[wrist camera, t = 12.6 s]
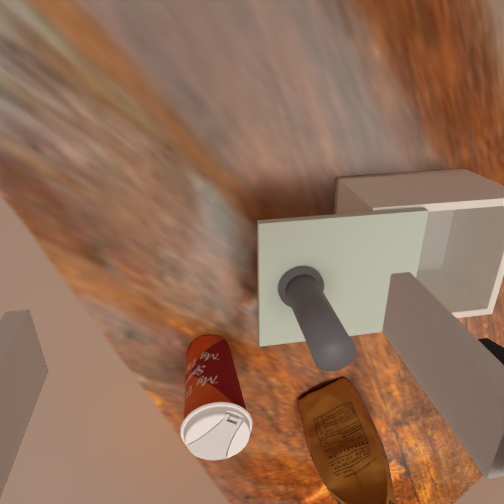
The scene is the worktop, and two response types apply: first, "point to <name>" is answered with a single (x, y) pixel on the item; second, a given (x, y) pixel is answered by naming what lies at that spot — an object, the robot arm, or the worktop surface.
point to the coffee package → (346, 445)
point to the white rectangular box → (443, 229)
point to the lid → (332, 277)
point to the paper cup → (213, 402)
